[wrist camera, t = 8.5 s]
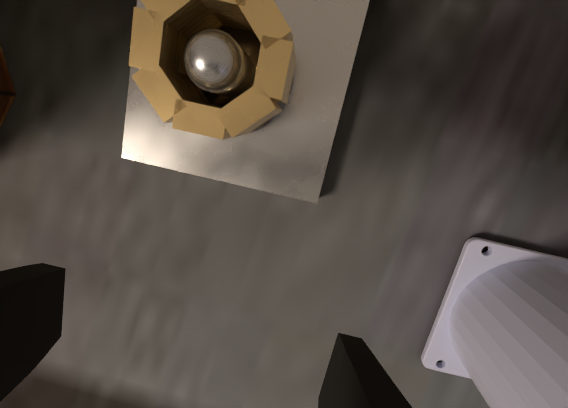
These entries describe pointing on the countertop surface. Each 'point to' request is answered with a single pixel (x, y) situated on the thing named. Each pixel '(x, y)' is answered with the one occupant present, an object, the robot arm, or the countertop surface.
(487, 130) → the countertop surface
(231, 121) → the brass ring
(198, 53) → the piston stand
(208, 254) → the countertop surface
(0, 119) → the mug
